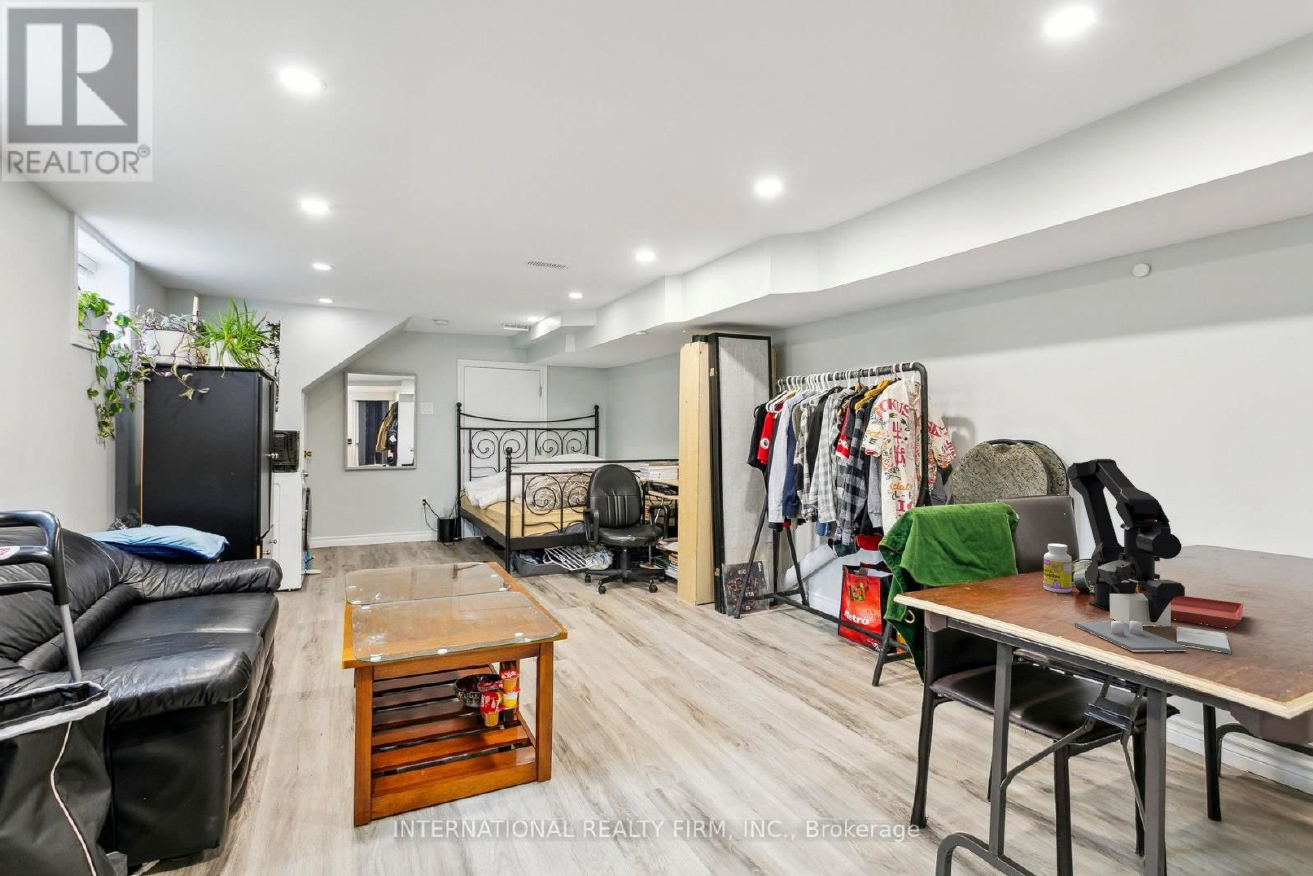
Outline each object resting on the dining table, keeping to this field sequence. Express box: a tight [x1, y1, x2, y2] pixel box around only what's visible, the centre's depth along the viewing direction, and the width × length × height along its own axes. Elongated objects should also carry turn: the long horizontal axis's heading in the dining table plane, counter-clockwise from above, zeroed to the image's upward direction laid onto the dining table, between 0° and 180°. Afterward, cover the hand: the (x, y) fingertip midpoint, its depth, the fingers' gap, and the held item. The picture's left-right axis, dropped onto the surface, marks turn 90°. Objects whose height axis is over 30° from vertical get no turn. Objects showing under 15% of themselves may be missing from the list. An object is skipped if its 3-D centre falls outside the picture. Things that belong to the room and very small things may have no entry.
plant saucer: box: [1171, 595, 1244, 629], centre depth 149 cm, size 18×18×3 cm
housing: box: [1109, 593, 1172, 627], centre depth 144 cm, size 10×6×6 cm, turn 90°
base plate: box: [1074, 620, 1187, 651], centre depth 133 cm, size 17×11×4 cm, turn 0°
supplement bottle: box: [1043, 543, 1073, 594], centre depth 174 cm, size 7×7×13 cm
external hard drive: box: [1176, 626, 1232, 655], centre depth 130 cm, size 2×8×12 cm
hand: (1139, 617), depth 144 cm, fingers open, 8 cm apart
